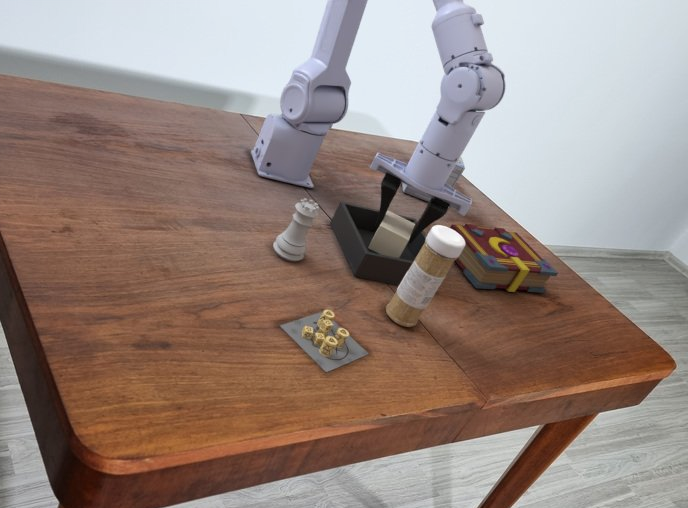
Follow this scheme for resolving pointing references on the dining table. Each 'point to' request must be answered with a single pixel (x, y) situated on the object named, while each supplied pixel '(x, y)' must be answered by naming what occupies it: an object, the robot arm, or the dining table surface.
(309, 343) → the dice set
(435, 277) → the sprinkles bottle
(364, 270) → the basket
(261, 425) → the dining table surface
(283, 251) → the rook chess piece
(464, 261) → the decorative book
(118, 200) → the dining table surface
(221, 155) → the dining table surface
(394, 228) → the small box
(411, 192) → the medicine box
